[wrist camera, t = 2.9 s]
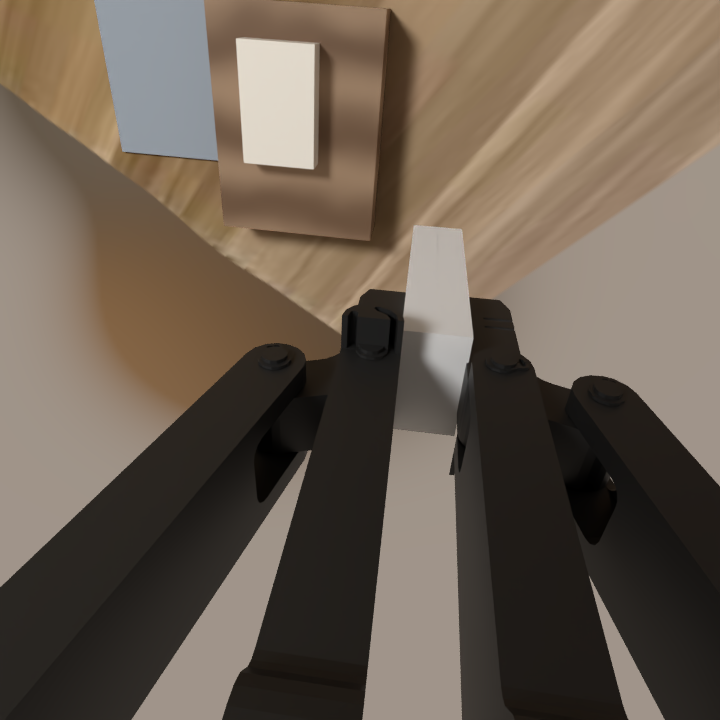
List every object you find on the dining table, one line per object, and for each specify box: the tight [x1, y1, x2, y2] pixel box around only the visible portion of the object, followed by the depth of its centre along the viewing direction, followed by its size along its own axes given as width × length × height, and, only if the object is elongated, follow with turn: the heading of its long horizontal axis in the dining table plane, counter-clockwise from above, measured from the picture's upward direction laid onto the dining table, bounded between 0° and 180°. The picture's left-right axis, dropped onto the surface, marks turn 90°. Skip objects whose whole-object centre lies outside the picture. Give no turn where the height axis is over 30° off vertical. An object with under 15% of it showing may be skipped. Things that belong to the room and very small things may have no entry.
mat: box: [94, 0, 218, 161], centre depth 47 cm, size 13×11×1 cm
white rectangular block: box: [236, 37, 320, 170], centre depth 42 cm, size 9×6×2 cm, turn 177°
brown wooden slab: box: [204, 0, 391, 241], centre depth 46 cm, size 18×14×4 cm
